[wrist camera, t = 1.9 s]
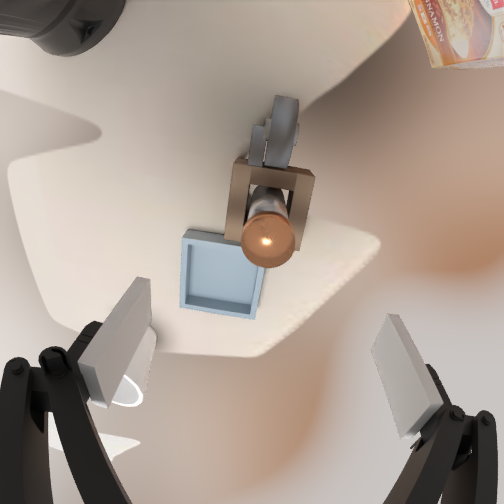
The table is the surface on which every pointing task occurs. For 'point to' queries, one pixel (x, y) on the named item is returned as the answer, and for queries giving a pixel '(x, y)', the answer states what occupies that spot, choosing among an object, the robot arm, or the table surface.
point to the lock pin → (268, 229)
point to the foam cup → (137, 373)
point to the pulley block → (271, 171)
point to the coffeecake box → (461, 32)
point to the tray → (218, 276)
